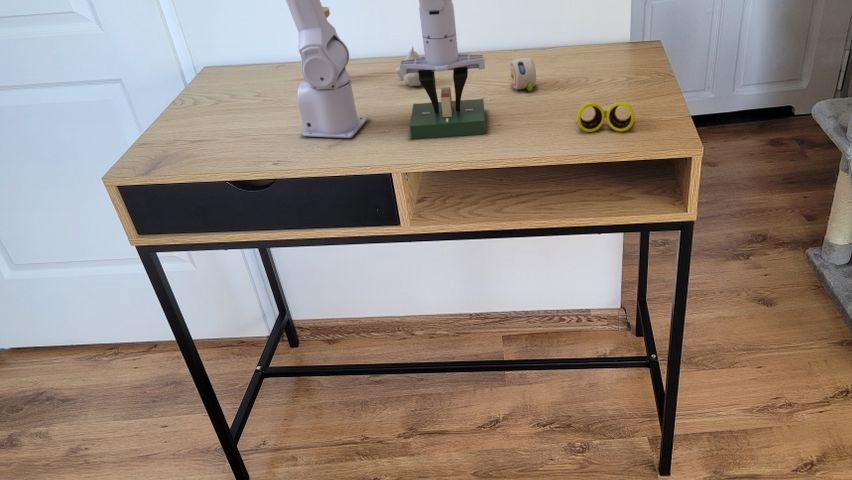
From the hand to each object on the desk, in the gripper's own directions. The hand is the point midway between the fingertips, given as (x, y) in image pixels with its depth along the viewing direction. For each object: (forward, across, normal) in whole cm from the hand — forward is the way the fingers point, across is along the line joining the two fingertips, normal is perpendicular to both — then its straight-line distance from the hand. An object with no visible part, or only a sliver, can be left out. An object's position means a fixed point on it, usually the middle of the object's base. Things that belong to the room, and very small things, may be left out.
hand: (447, 110), depth 133 cm
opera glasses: (+3, +27, -6) cm, 28 cm away
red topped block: (0, 0, 0) cm, 0 cm away
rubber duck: (+3, -8, +21) cm, 23 cm away
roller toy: (+3, +14, +15) cm, 21 cm away
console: (+3, 0, 0) cm, 3 cm away
